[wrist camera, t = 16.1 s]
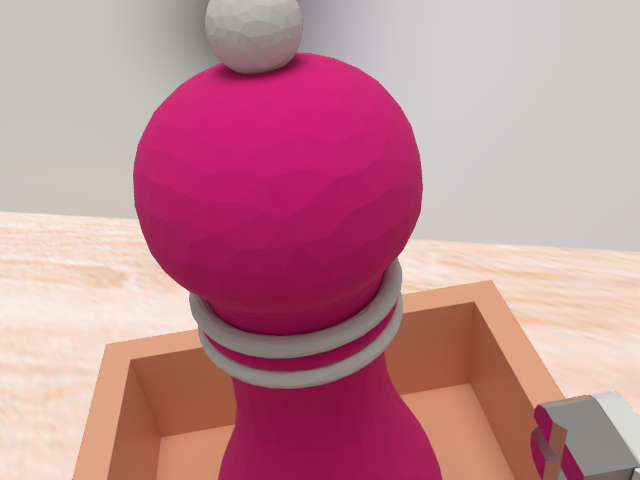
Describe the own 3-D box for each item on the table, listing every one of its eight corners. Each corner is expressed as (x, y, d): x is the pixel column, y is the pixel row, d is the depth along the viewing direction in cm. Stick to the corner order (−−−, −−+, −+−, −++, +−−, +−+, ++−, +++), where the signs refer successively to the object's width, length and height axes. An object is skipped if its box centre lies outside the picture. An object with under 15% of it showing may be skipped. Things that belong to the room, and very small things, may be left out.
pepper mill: (430, 720, 17) (426, 21, 6) (209, 653, 20) (-79, 40, 9) (454, 499, 23) (474, -73, 12) (281, 466, 25) (164, -49, 14)
